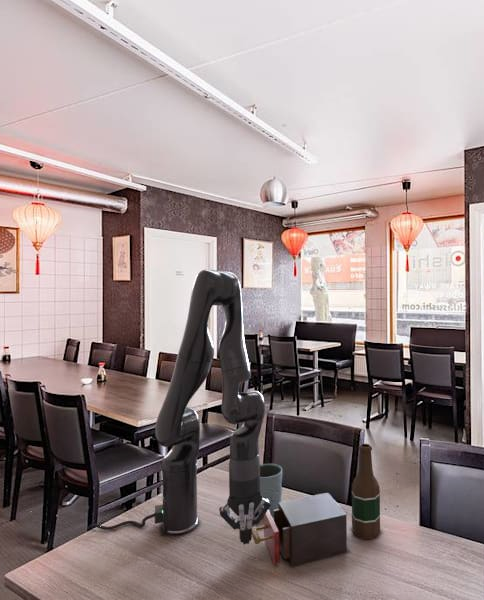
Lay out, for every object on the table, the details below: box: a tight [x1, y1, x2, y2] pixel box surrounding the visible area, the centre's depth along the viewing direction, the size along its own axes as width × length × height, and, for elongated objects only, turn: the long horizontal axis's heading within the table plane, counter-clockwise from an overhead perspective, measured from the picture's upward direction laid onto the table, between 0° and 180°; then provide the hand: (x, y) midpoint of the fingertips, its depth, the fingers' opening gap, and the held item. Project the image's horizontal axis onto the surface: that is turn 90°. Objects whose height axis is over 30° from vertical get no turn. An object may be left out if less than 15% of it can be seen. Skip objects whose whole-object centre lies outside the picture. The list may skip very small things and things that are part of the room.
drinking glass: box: [253, 463, 283, 516], centre depth 127 cm, size 10×10×12 cm
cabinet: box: [278, 492, 348, 566], centre depth 109 cm, size 15×13×10 cm
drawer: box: [252, 509, 291, 565], centre depth 106 cm, size 18×11×8 cm, turn 111°
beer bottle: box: [351, 443, 381, 540], centre depth 114 cm, size 8×8×24 cm
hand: (245, 542), depth 102 cm, fingers closed
